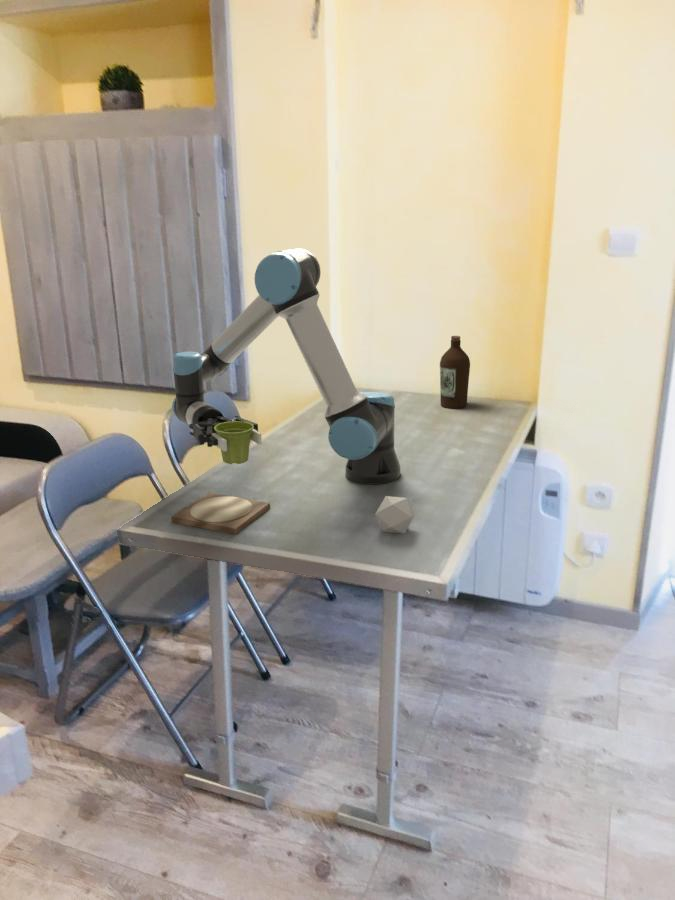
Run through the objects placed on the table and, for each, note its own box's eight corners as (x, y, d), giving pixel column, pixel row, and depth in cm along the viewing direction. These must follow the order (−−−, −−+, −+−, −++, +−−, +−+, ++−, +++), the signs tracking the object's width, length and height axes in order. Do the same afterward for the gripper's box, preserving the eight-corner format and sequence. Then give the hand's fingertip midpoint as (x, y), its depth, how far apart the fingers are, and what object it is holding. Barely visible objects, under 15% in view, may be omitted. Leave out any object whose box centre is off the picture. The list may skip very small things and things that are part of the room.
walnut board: (270, 508, 186) (269, 501, 185) (235, 534, 172) (235, 527, 172) (209, 497, 193) (208, 491, 193) (171, 522, 180) (171, 515, 179)
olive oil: (451, 399, 278) (453, 332, 269) (474, 405, 270) (477, 336, 262) (432, 405, 271) (434, 336, 263) (455, 411, 263) (458, 340, 255)
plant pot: (237, 451, 189) (235, 418, 186) (263, 459, 183) (261, 425, 181) (208, 461, 183) (206, 427, 180) (234, 470, 177) (232, 435, 174)
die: (418, 527, 176) (399, 490, 177) (423, 524, 167) (403, 485, 169) (387, 542, 175) (368, 505, 176) (390, 540, 166) (370, 501, 168)
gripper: (242, 426, 202) (282, 448, 184) (167, 440, 191) (202, 466, 173) (241, 399, 199) (281, 419, 181) (165, 411, 189) (199, 435, 171)
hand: (242, 442), depth 177 cm, fingers closed on plant pot, 8 cm apart
